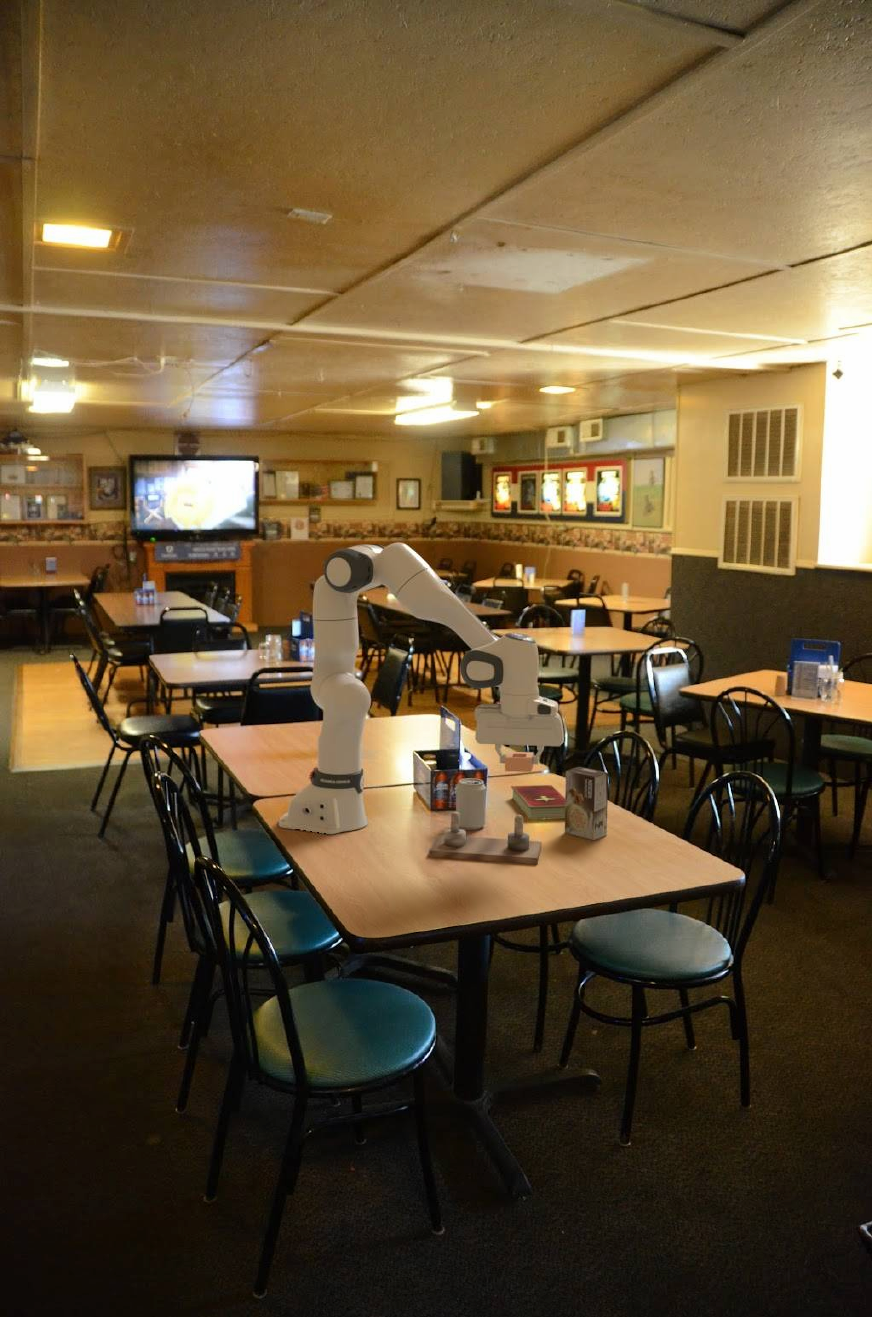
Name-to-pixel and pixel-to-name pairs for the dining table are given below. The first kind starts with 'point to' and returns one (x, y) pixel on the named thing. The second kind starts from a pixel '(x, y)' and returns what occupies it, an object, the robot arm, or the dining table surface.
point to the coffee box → (586, 803)
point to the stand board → (486, 845)
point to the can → (471, 803)
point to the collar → (519, 761)
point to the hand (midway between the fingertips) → (519, 763)
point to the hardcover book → (540, 801)
